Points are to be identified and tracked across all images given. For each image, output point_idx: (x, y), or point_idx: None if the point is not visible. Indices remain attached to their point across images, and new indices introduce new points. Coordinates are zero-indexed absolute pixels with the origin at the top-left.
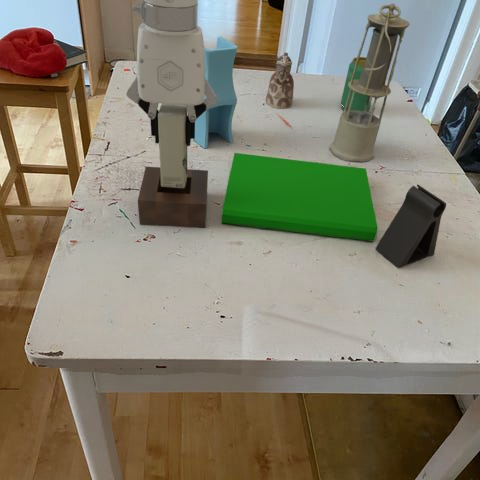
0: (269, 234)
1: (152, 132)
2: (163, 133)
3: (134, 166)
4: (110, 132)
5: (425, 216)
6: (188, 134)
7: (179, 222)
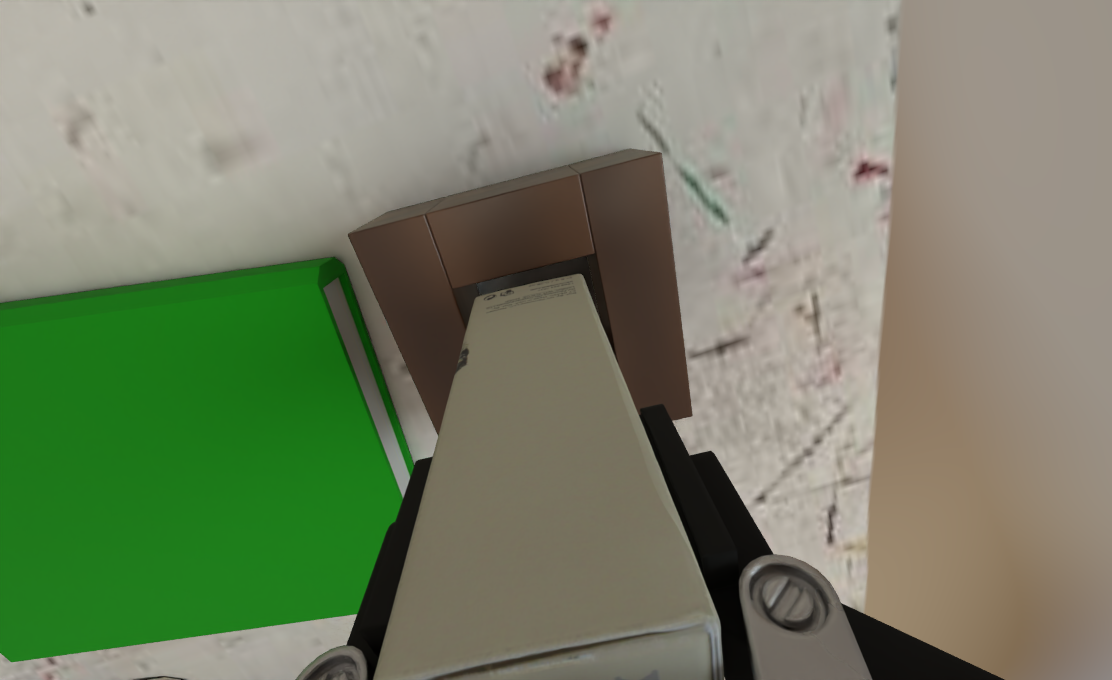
0: (145, 255)
1: (709, 466)
2: (606, 453)
3: (733, 465)
4: (834, 582)
5: None
6: (407, 522)
7: (479, 189)
